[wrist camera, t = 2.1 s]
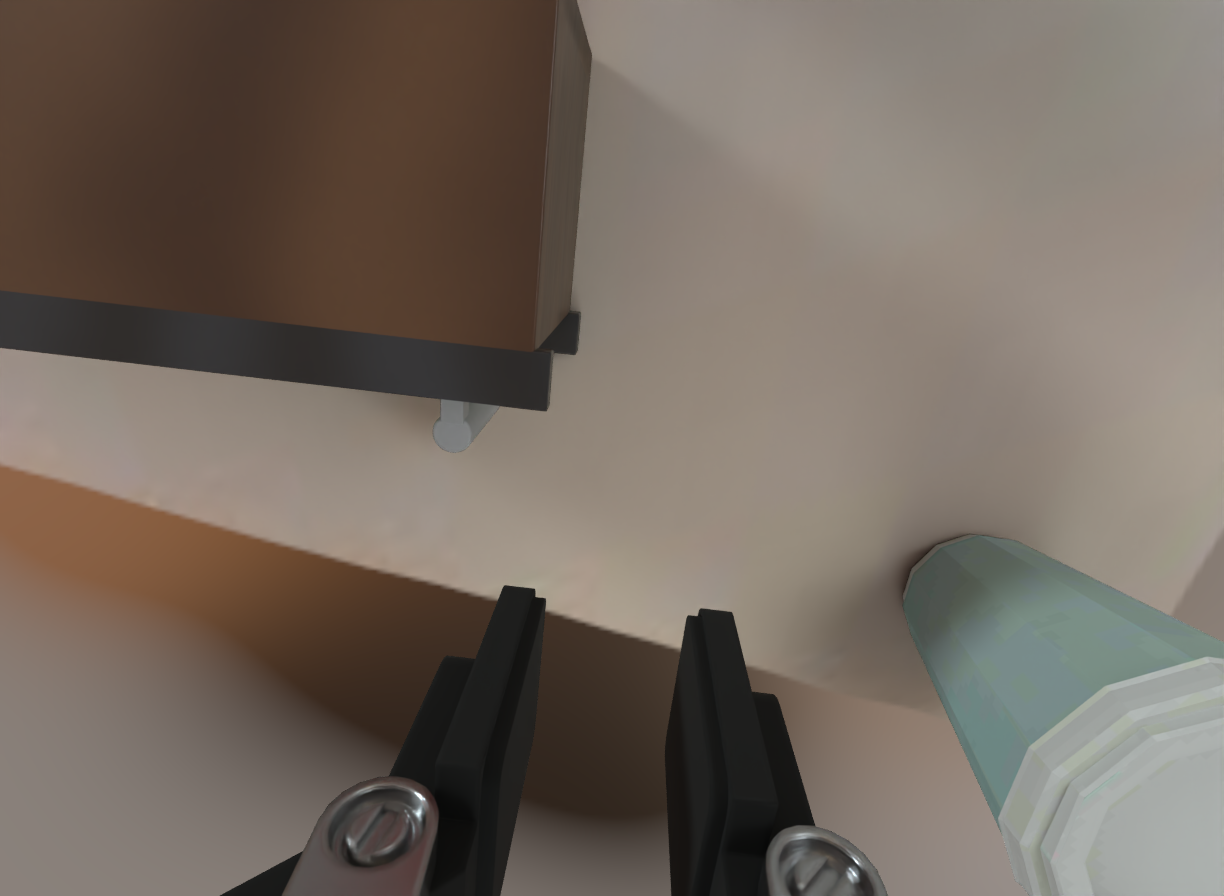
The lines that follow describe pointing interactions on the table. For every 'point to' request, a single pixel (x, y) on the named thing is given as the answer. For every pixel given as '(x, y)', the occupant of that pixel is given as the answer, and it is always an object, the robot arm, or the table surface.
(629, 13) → the table surface
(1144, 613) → the disposable coffee cup
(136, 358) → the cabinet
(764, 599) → the table surface
